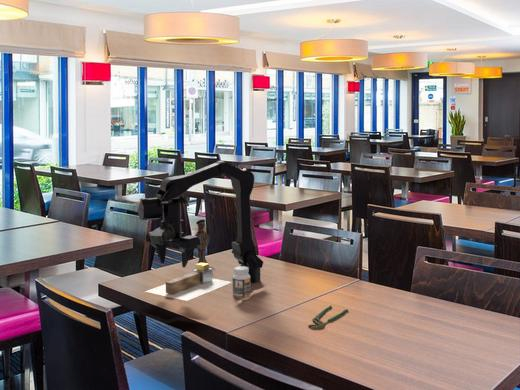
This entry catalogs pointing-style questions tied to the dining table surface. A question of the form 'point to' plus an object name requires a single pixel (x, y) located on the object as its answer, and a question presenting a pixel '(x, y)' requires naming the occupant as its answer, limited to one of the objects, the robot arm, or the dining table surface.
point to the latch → (202, 266)
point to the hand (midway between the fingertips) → (173, 265)
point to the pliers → (321, 324)
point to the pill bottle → (241, 283)
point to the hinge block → (204, 275)
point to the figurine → (202, 241)
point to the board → (190, 290)
